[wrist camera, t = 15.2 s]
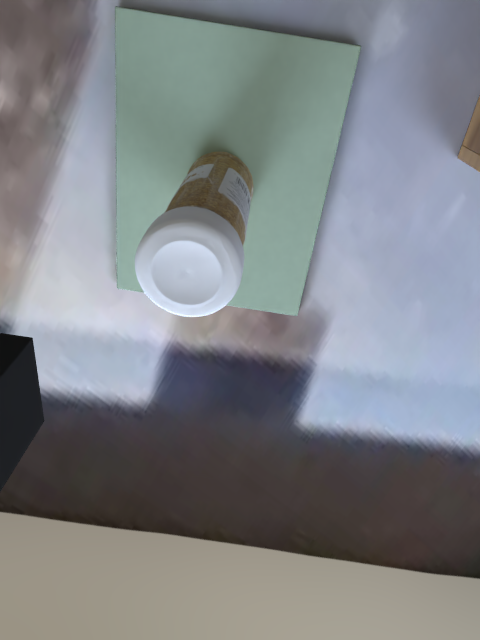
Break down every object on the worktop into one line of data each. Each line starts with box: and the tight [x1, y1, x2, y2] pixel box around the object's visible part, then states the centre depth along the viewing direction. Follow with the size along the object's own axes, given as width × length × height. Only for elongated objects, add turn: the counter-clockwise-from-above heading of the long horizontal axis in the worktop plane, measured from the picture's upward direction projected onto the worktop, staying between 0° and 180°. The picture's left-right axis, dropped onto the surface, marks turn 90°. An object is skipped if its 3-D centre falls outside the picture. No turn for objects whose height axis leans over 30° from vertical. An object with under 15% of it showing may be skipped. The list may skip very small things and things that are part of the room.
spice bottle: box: [135, 152, 254, 317], centre depth 25 cm, size 5×5×14 cm
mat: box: [115, 6, 361, 316], centre depth 31 cm, size 18×14×1 cm
